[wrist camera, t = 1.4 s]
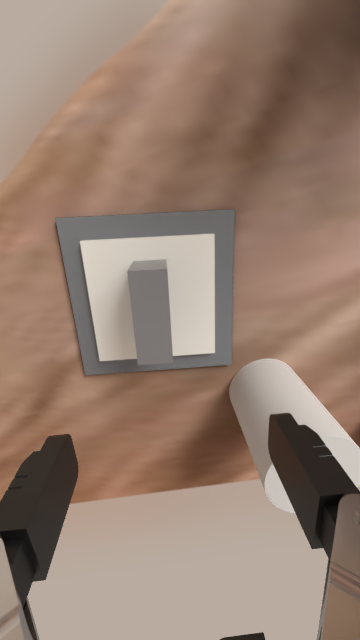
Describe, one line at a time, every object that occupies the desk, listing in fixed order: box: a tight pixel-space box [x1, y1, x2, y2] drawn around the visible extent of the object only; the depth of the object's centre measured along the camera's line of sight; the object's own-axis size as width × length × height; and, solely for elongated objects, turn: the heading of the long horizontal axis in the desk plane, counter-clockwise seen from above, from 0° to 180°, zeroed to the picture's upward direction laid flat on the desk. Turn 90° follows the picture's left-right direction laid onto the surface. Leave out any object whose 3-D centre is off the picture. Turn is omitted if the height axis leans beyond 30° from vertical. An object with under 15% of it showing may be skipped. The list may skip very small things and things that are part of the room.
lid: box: [80, 233, 215, 365], centre depth 25 cm, size 12×12×6 cm
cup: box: [229, 359, 360, 514], centre depth 28 cm, size 8×8×12 cm
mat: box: [55, 209, 235, 375], centre depth 28 cm, size 16×16×1 cm
